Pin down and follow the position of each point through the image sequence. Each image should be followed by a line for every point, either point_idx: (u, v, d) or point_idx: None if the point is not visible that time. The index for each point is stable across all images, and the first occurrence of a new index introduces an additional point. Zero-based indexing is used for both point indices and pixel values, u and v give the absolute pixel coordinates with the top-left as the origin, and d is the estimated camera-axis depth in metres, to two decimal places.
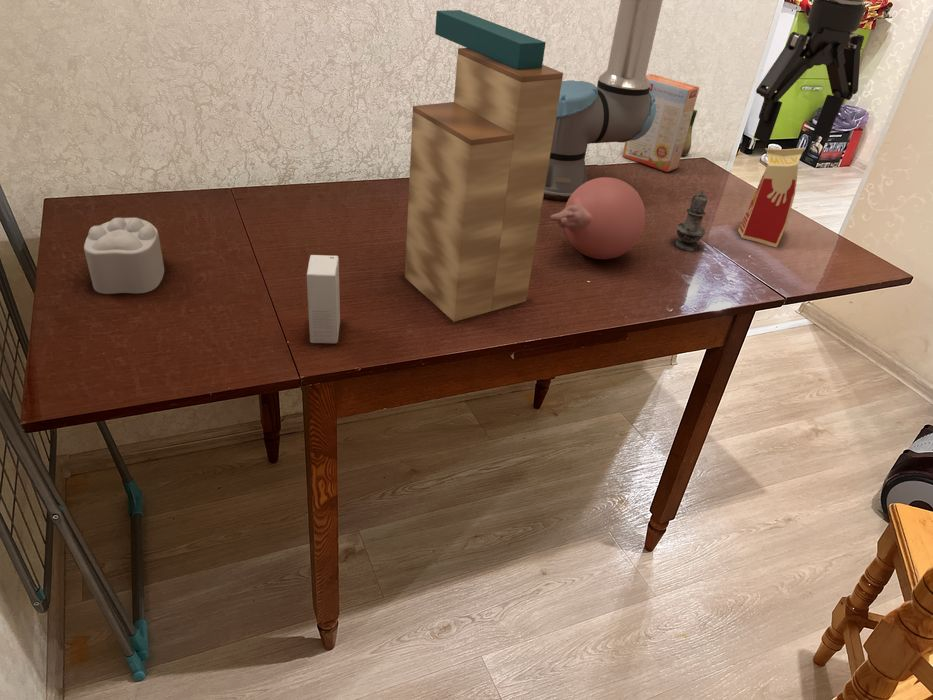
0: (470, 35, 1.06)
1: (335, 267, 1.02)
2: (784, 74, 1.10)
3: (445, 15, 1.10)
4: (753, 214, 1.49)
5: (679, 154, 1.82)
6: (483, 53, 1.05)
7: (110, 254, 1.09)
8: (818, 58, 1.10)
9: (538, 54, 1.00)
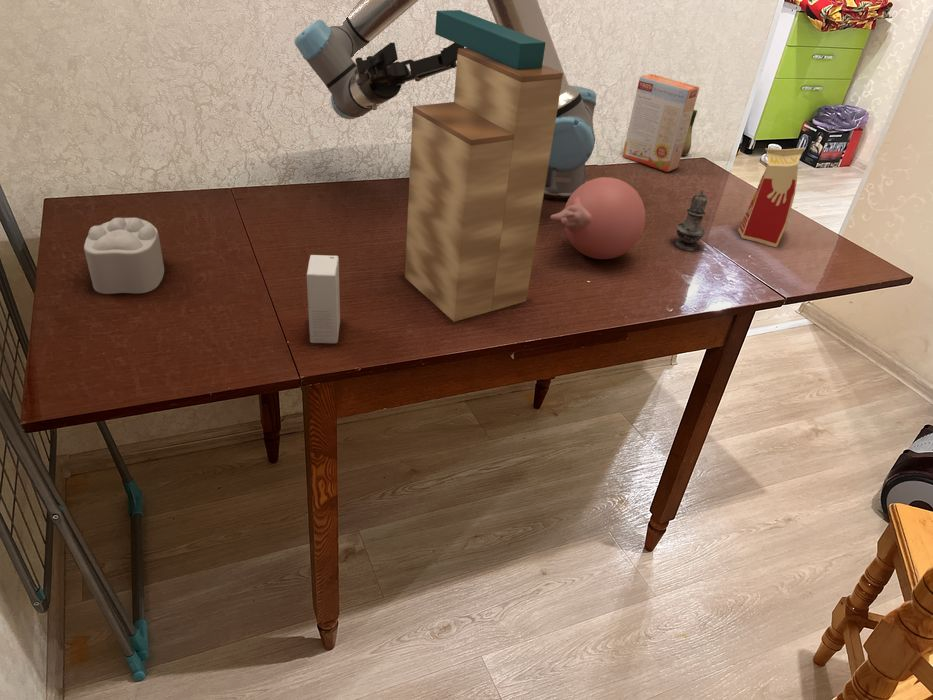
0: (470, 35, 1.06)
1: (335, 267, 1.02)
2: (438, 72, 1.34)
3: (445, 15, 1.10)
4: (753, 214, 1.49)
5: (679, 154, 1.82)
6: (483, 53, 1.05)
7: (110, 254, 1.09)
8: (407, 80, 1.33)
9: (538, 54, 1.00)
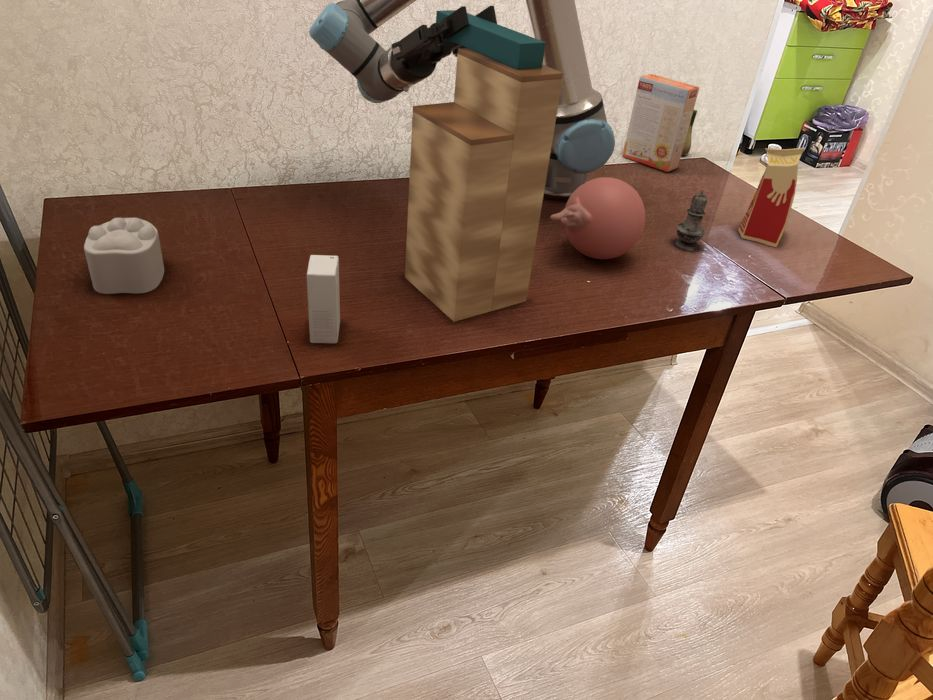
0: (470, 35, 1.06)
1: (335, 267, 1.02)
2: None
3: (445, 15, 1.10)
4: (753, 214, 1.49)
5: (679, 154, 1.82)
6: (483, 53, 1.05)
7: (110, 254, 1.09)
8: (440, 57, 1.21)
9: (538, 54, 1.00)
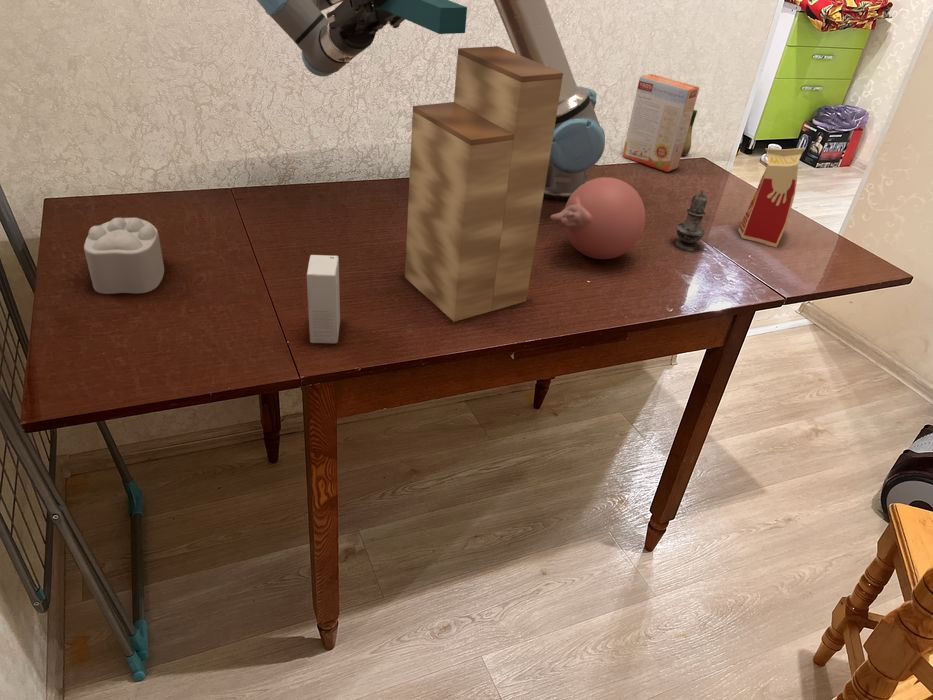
0: (398, 1, 1.08)
1: (335, 267, 1.02)
2: None
3: None
4: (753, 214, 1.49)
5: (679, 154, 1.82)
6: (409, 19, 1.06)
7: (110, 254, 1.09)
8: (377, 27, 1.22)
9: (460, 19, 1.02)
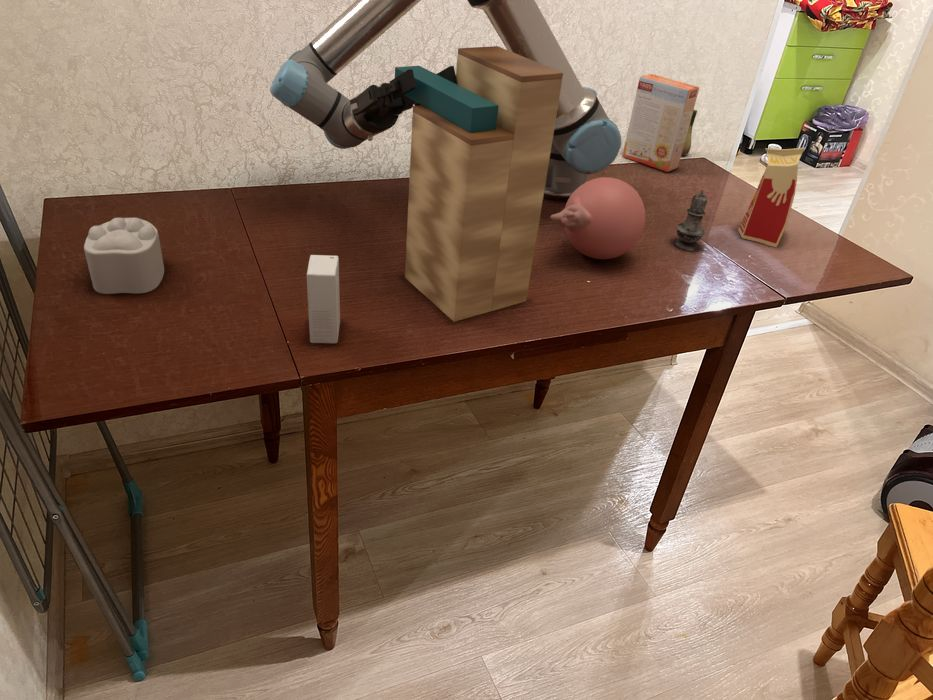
0: (427, 94, 1.07)
1: (335, 267, 1.02)
2: None
3: (403, 72, 1.11)
4: (753, 214, 1.49)
5: (679, 154, 1.82)
6: (439, 113, 1.06)
7: (110, 254, 1.09)
8: (402, 110, 1.21)
9: (491, 117, 1.01)
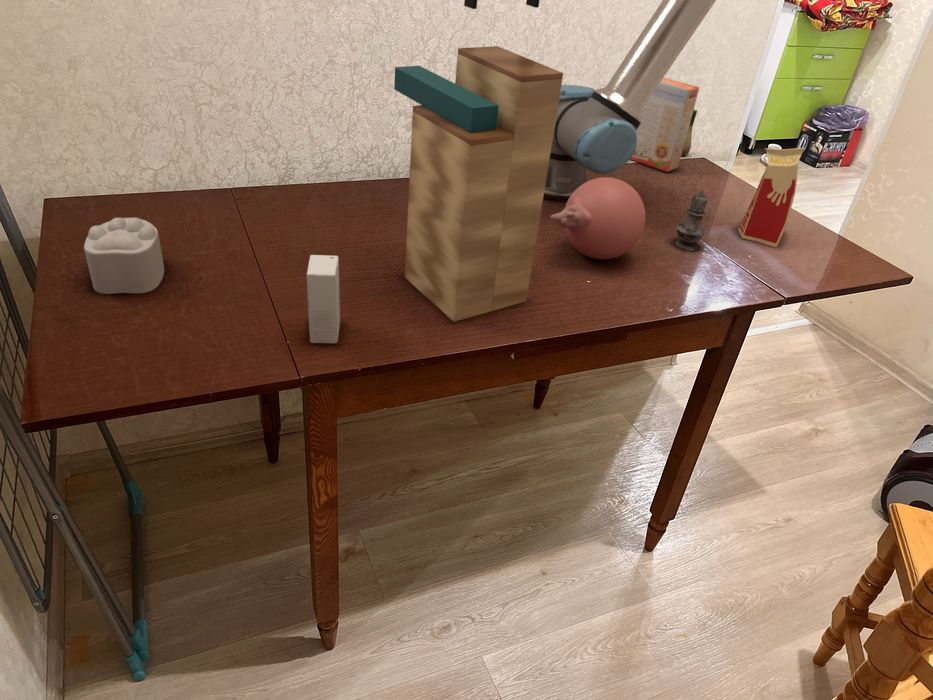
0: (427, 94, 1.07)
1: (335, 267, 1.02)
2: None
3: (403, 72, 1.11)
4: (753, 214, 1.49)
5: (679, 154, 1.82)
6: (439, 113, 1.06)
7: (110, 254, 1.09)
8: None
9: (491, 117, 1.01)
